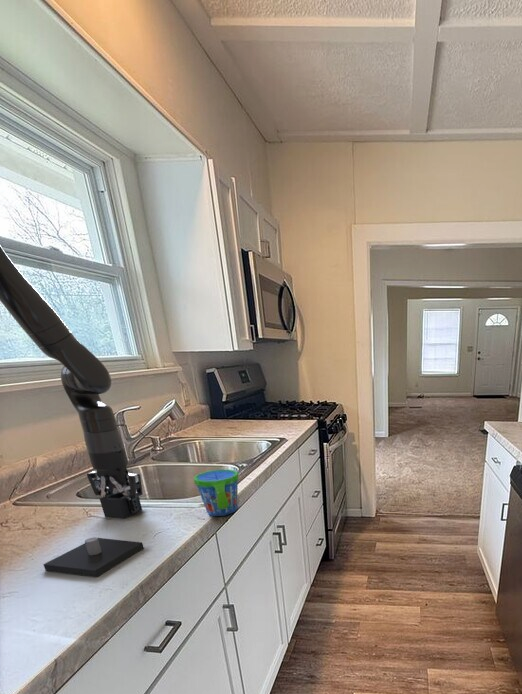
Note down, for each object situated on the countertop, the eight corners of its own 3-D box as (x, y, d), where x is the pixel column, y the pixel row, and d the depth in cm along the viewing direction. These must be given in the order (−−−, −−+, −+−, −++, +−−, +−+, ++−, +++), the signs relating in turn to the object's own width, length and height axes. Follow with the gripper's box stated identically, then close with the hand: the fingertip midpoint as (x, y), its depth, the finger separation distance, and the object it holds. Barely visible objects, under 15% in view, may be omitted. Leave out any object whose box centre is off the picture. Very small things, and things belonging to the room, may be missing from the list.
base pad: (45, 571, 78) (37, 550, 76) (97, 543, 89) (91, 525, 87) (97, 577, 76) (90, 556, 74) (144, 548, 87) (139, 529, 85)
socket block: (104, 516, 103) (99, 498, 101) (123, 508, 108) (118, 490, 106) (124, 518, 102) (119, 500, 100) (142, 509, 107) (137, 492, 105)
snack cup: (202, 504, 111) (195, 468, 107) (242, 499, 114) (237, 464, 110) (199, 526, 97) (191, 486, 93) (244, 520, 101) (238, 481, 97)
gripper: (67, 450, 96) (88, 514, 103) (118, 453, 94) (136, 519, 100) (94, 443, 103) (112, 504, 110) (142, 446, 100) (157, 508, 107)
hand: (123, 511), depth 105 cm, fingers closed on socket block, 6 cm apart
